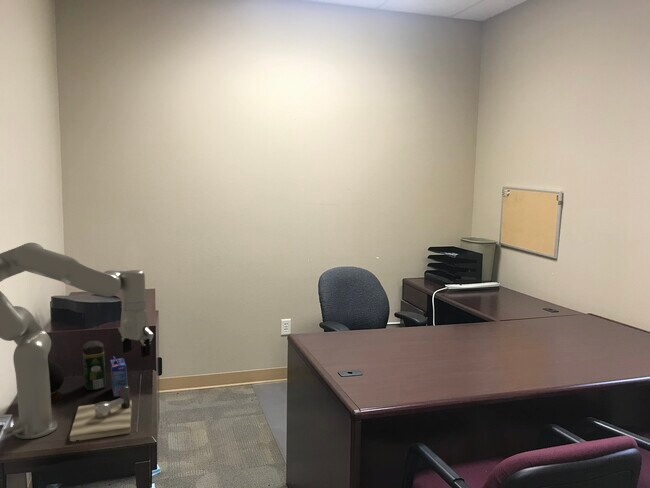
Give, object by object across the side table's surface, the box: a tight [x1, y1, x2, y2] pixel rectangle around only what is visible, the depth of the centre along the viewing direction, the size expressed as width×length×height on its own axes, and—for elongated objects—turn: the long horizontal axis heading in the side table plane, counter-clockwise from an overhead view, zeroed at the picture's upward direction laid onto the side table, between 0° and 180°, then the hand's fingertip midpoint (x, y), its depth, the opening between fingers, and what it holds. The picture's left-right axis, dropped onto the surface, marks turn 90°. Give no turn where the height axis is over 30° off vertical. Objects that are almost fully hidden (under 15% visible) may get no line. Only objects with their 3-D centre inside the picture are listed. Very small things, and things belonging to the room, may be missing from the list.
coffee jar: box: [82, 340, 107, 391], centre depth 210 cm, size 10×8×19 cm
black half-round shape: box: [48, 360, 65, 405], centre depth 197 cm, size 13×13×15 cm
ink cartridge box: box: [109, 355, 129, 398], centre depth 205 cm, size 10×6×14 cm, turn 27°
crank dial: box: [94, 384, 131, 419], centre depth 181 cm, size 13×5×7 cm, turn 147°
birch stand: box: [69, 399, 133, 442], centre depth 178 cm, size 24×18×2 cm
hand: (136, 353), depth 181 cm, fingers open, 9 cm apart
